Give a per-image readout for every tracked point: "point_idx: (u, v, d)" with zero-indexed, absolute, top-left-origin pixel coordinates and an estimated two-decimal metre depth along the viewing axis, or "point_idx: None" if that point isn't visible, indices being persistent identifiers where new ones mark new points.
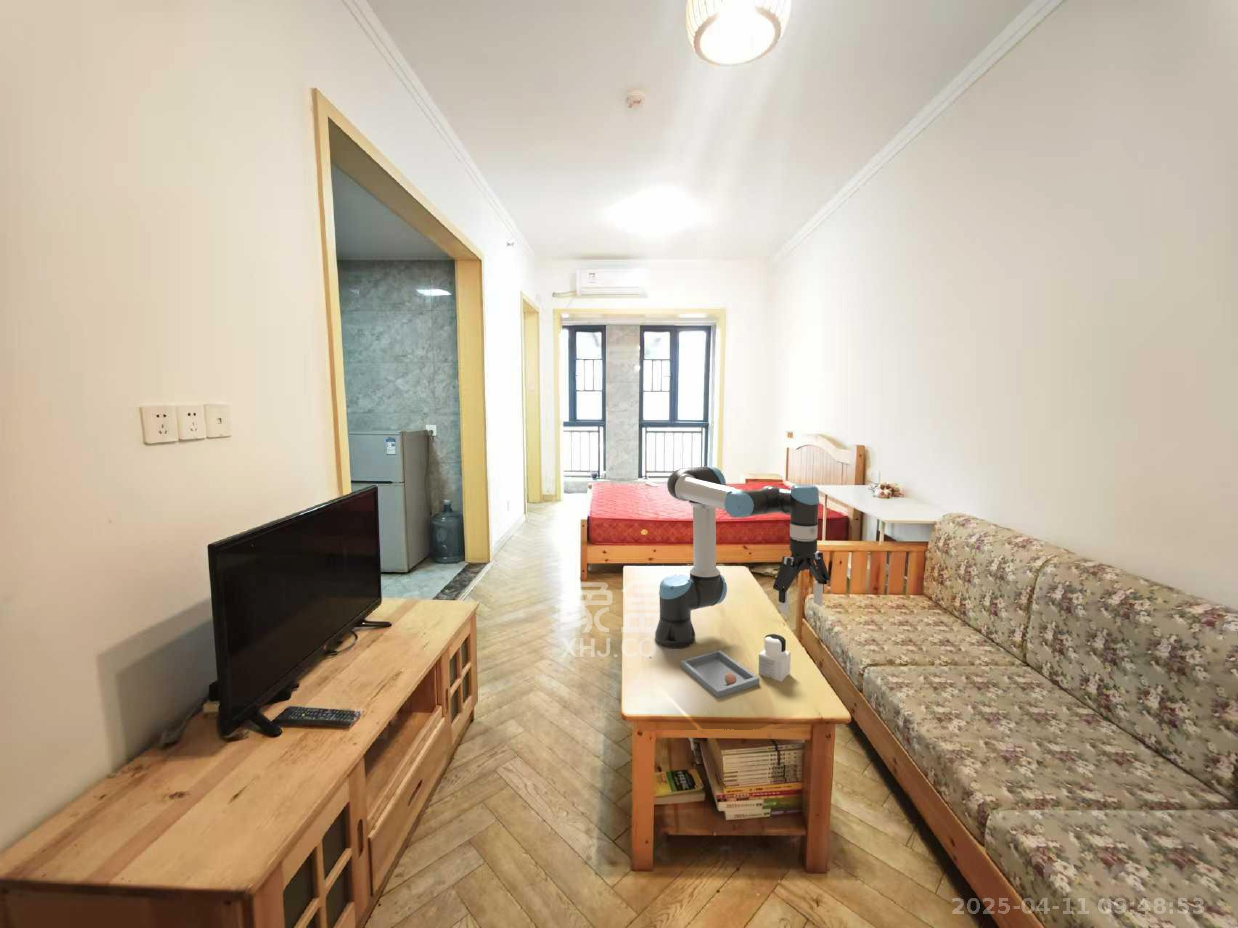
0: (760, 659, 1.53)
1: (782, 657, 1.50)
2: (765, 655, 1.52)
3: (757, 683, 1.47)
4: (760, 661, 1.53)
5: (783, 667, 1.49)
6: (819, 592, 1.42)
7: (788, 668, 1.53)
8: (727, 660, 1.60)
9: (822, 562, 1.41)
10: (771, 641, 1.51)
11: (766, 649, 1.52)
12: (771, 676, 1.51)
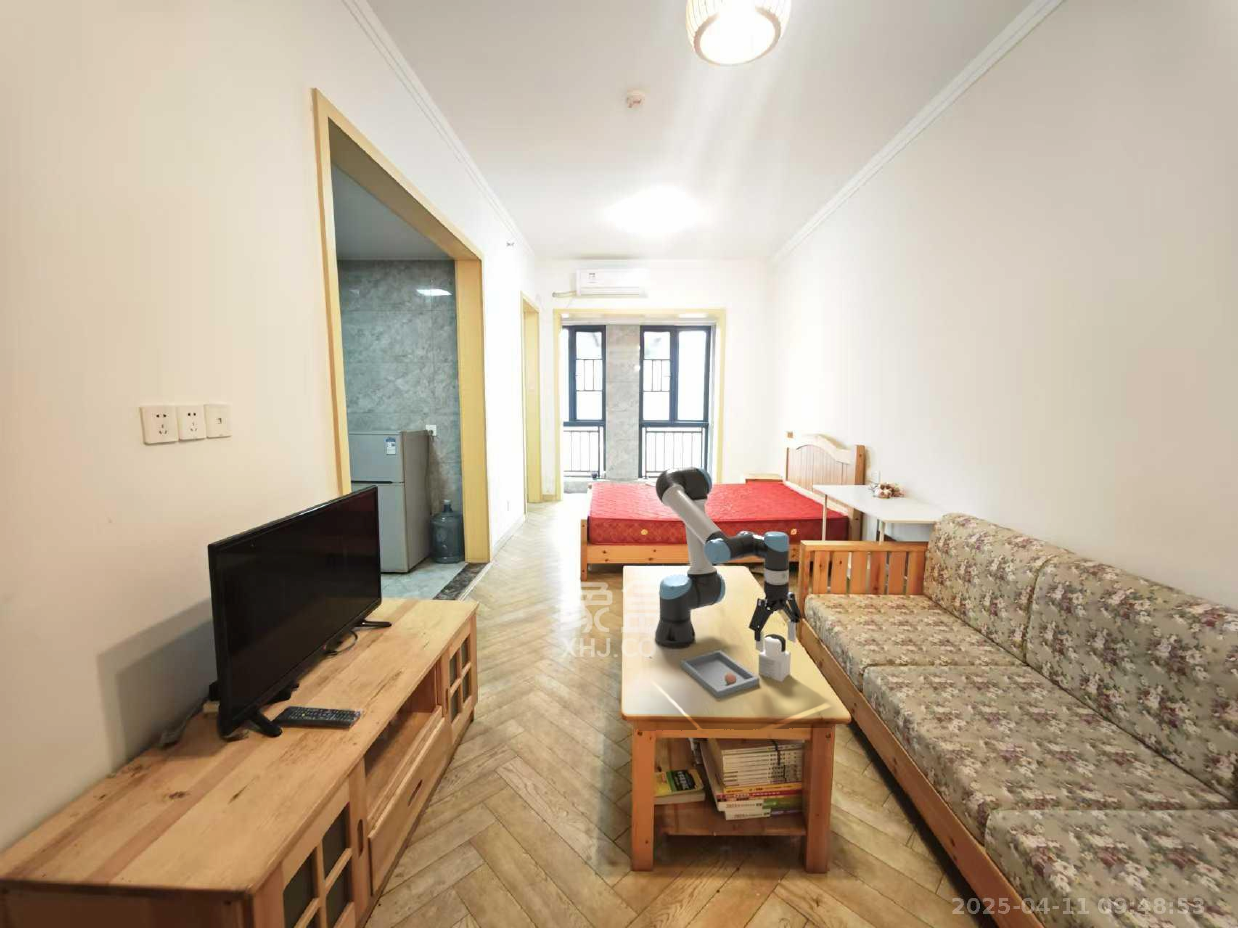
0: (760, 659, 1.53)
1: (782, 657, 1.50)
2: (765, 655, 1.52)
3: (757, 683, 1.47)
4: (760, 661, 1.53)
5: (783, 667, 1.49)
6: (792, 630, 1.55)
7: (788, 668, 1.53)
8: (727, 660, 1.60)
9: (794, 602, 1.54)
10: (771, 641, 1.51)
11: (766, 649, 1.52)
12: (771, 676, 1.51)
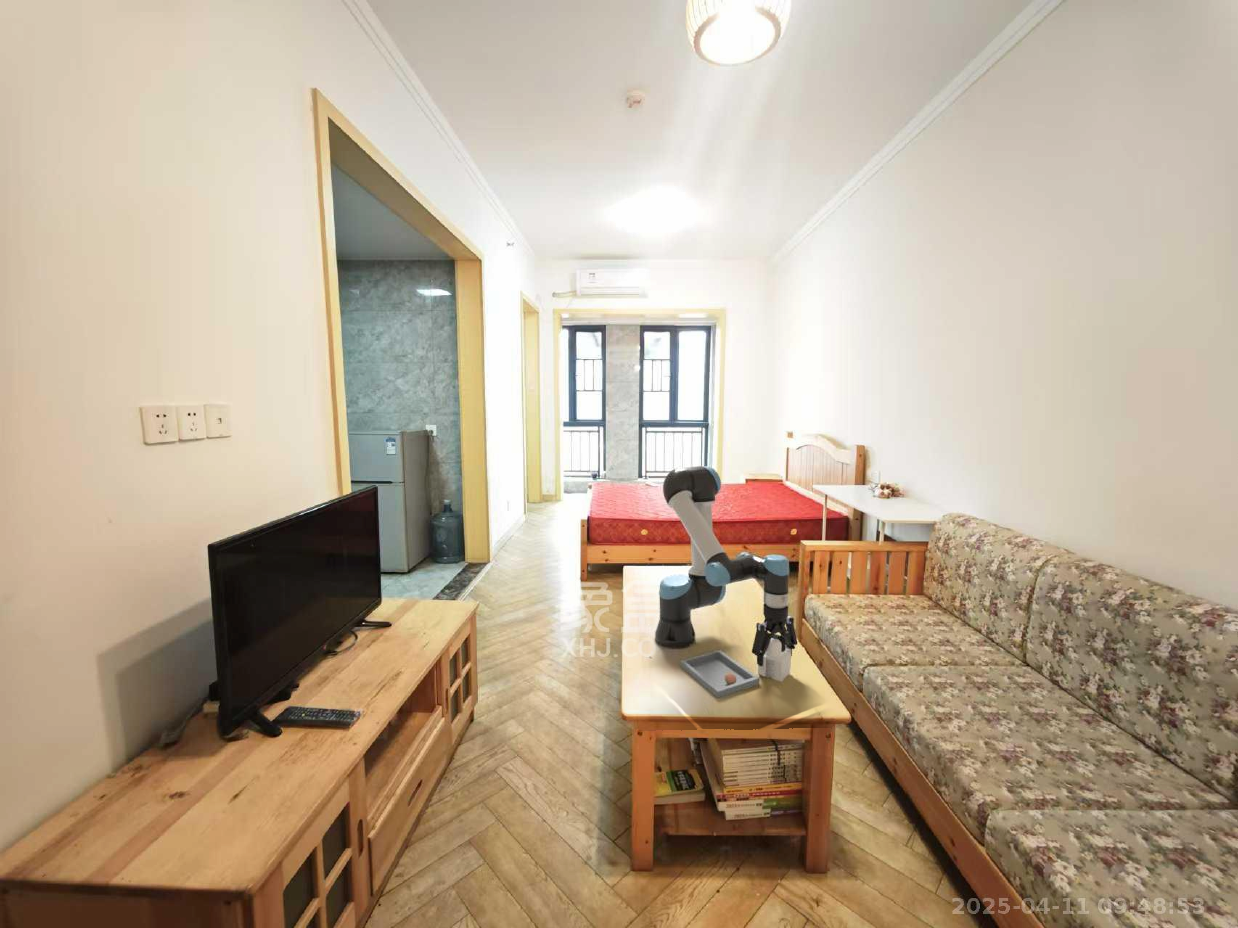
0: None
1: (782, 657, 1.50)
2: (765, 655, 1.52)
3: (757, 683, 1.47)
4: None
5: (783, 667, 1.49)
6: None
7: (788, 668, 1.53)
8: (727, 660, 1.60)
9: (792, 627, 1.54)
10: (770, 641, 1.51)
11: None
12: (771, 676, 1.51)
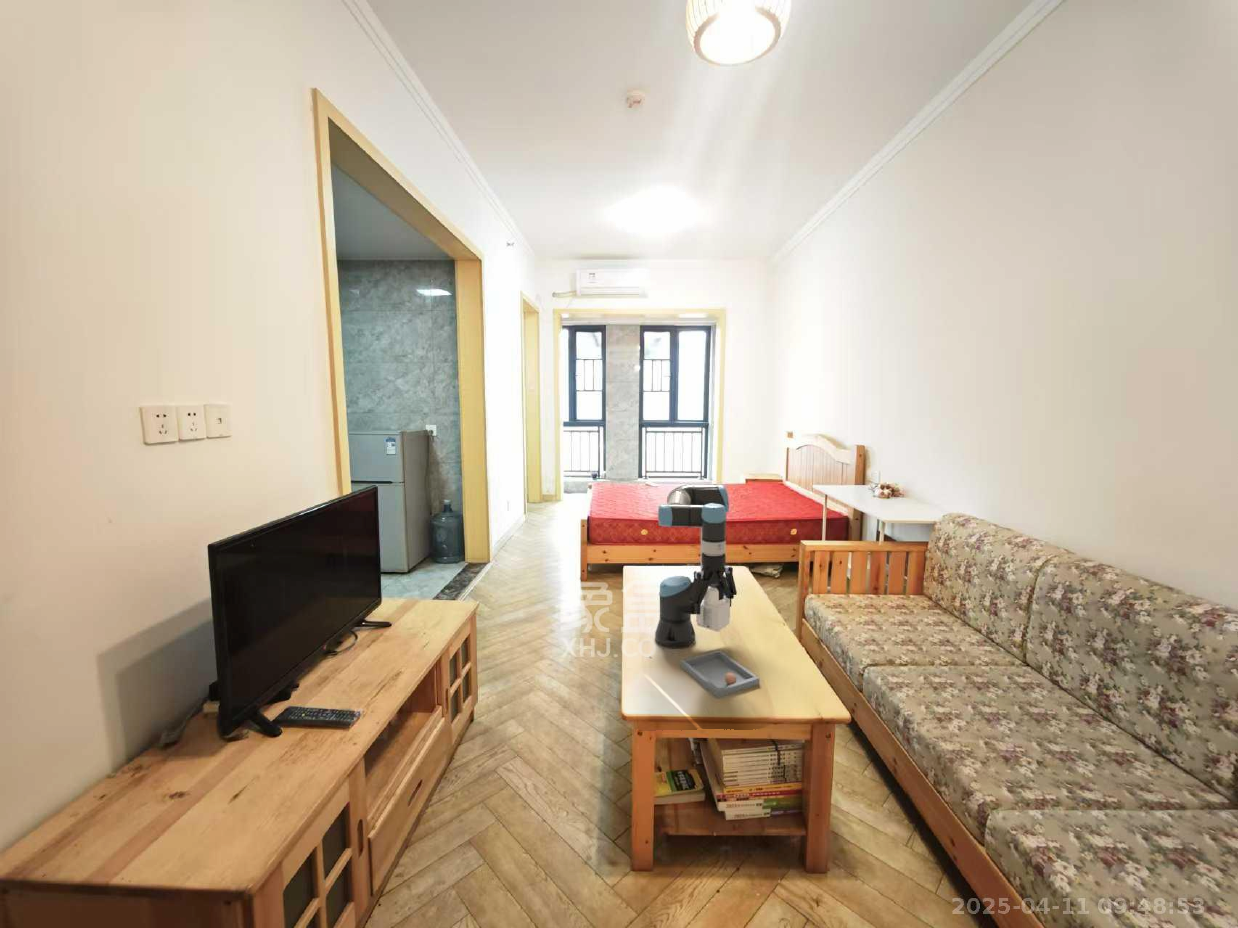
0: None
1: (719, 605, 1.50)
2: (703, 604, 1.51)
3: (757, 683, 1.47)
4: None
5: (720, 615, 1.49)
6: None
7: (727, 617, 1.53)
8: (727, 660, 1.60)
9: (731, 576, 1.54)
10: (708, 589, 1.51)
11: (704, 598, 1.52)
12: (708, 625, 1.51)
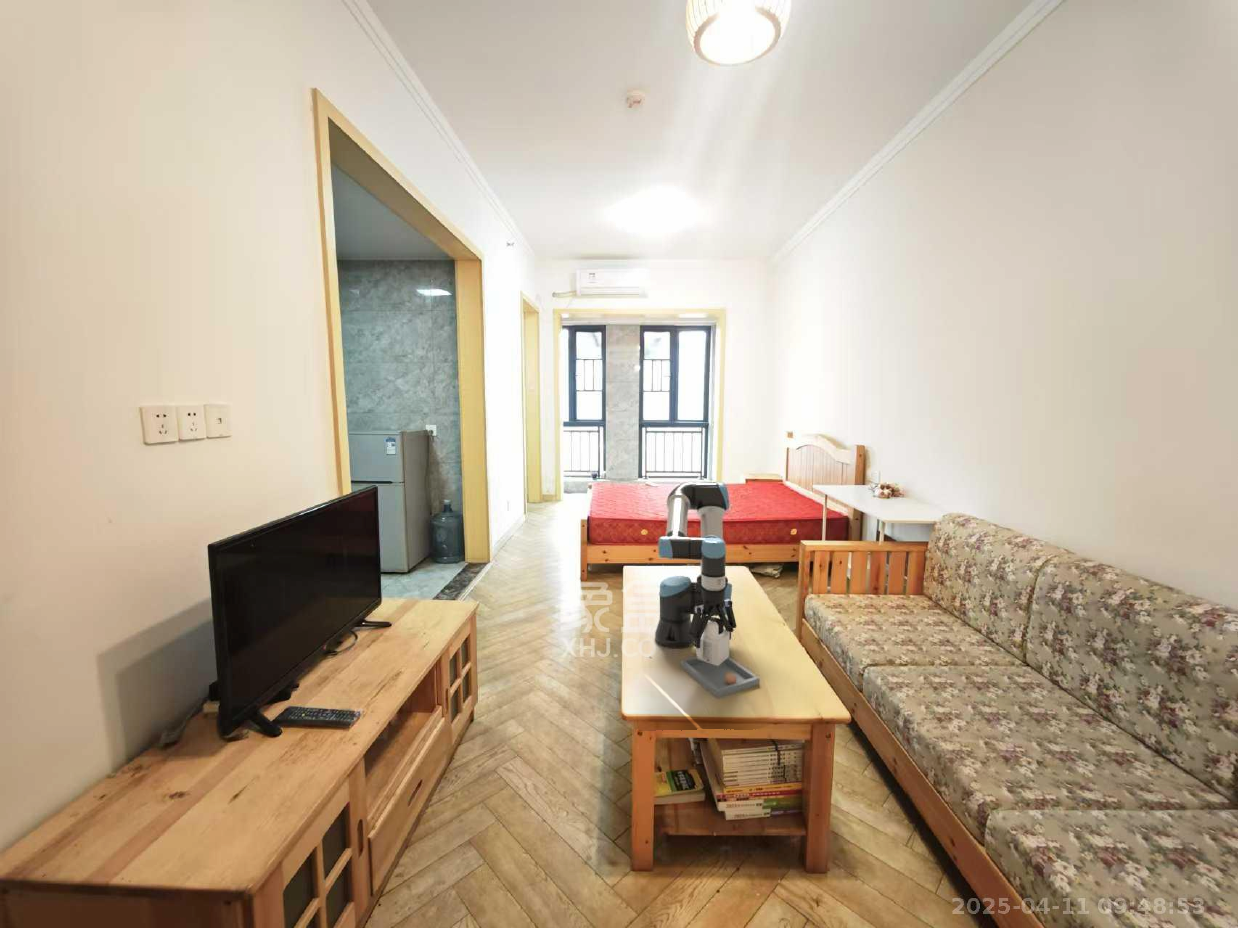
0: None
1: (719, 640, 1.51)
2: (703, 638, 1.53)
3: (757, 683, 1.47)
4: None
5: (720, 649, 1.50)
6: None
7: (726, 650, 1.54)
8: (727, 660, 1.60)
9: (731, 610, 1.55)
10: (708, 623, 1.52)
11: (704, 632, 1.53)
12: (708, 658, 1.52)
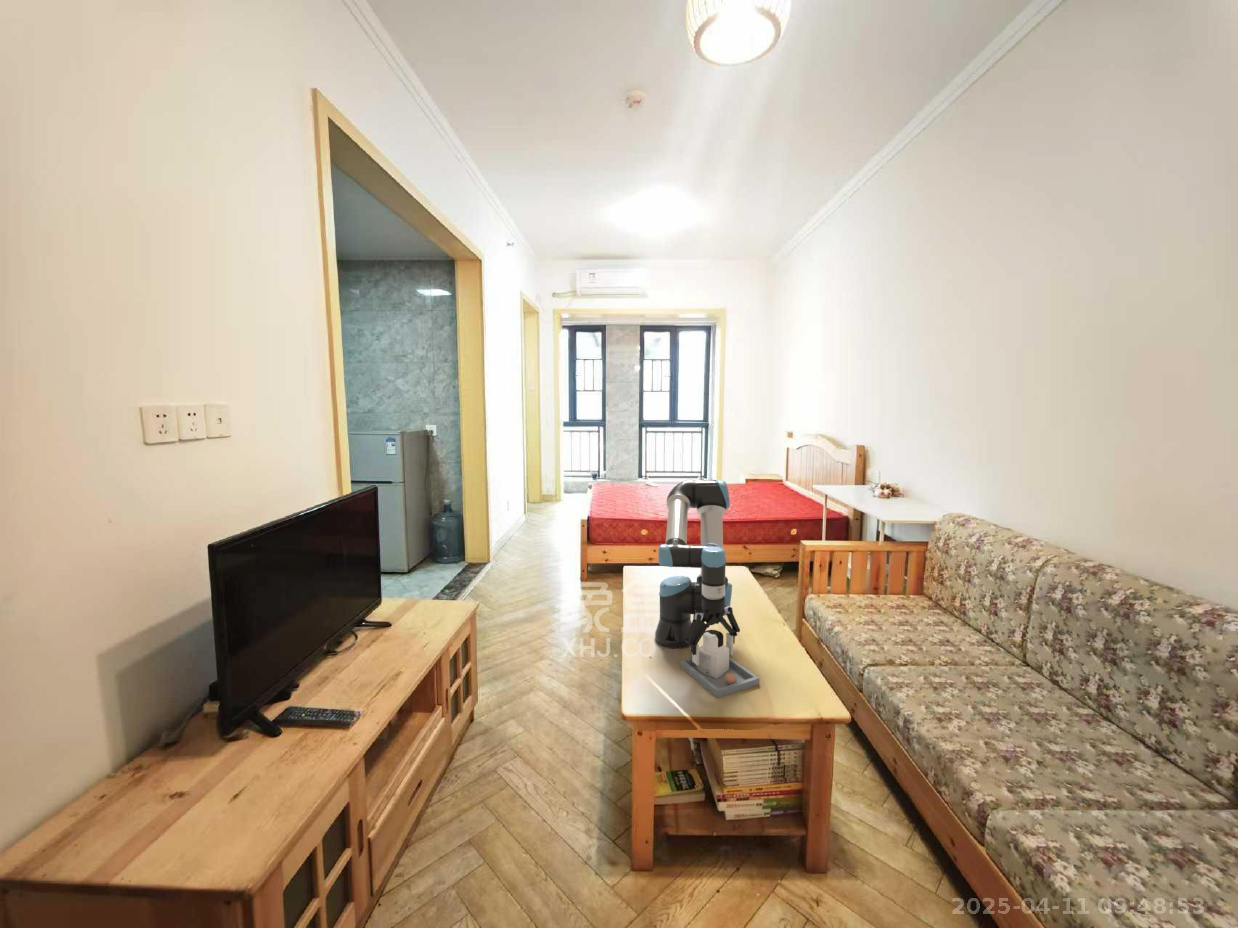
0: None
1: (719, 653, 1.52)
2: (703, 650, 1.53)
3: (757, 683, 1.47)
4: None
5: (719, 662, 1.51)
6: (730, 643, 1.57)
7: (726, 663, 1.54)
8: None
9: (732, 616, 1.56)
10: (707, 636, 1.53)
11: (704, 644, 1.54)
12: (708, 671, 1.52)
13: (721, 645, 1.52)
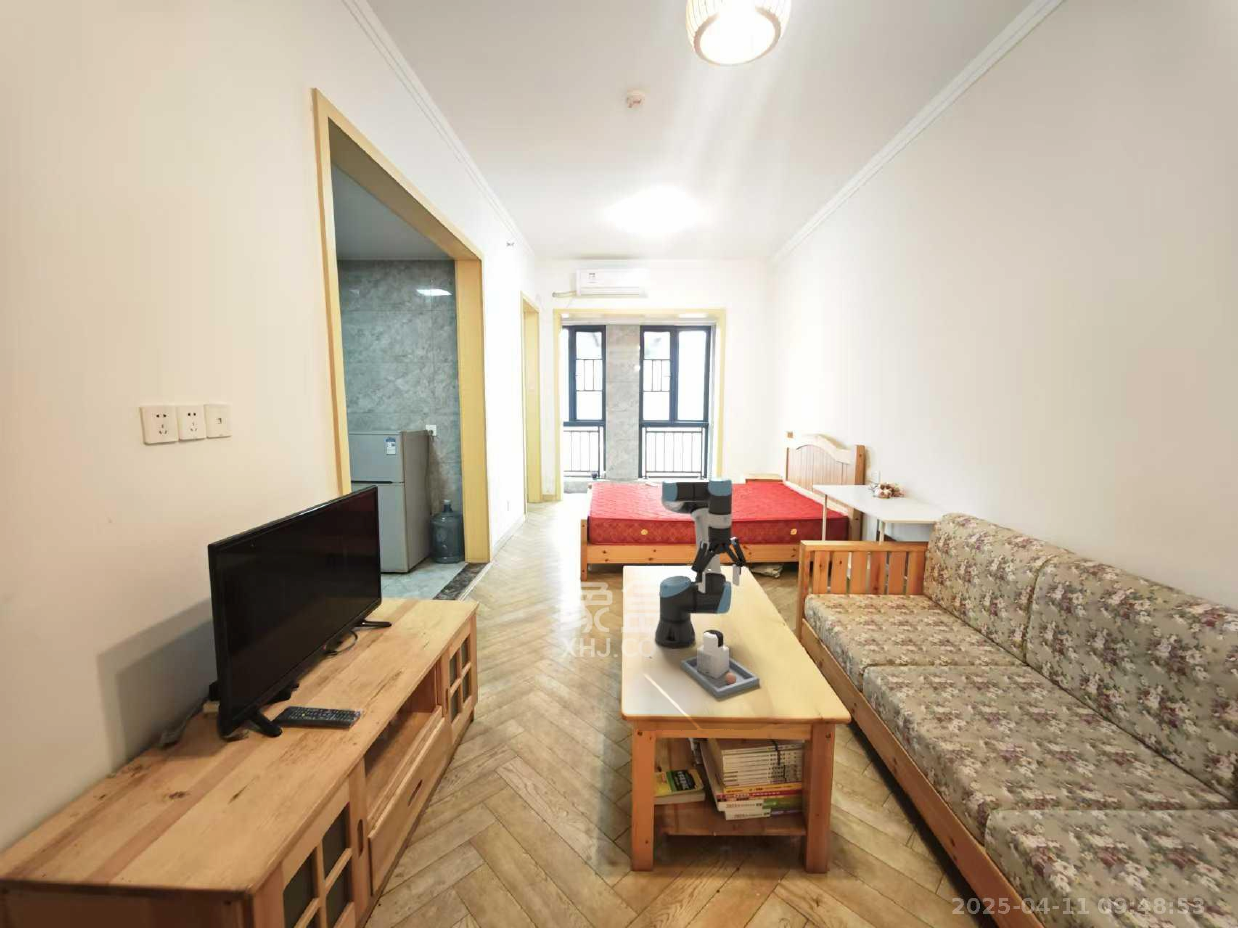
0: (698, 654, 1.54)
1: (719, 653, 1.52)
2: (703, 650, 1.53)
3: (757, 683, 1.47)
4: (698, 656, 1.55)
5: (719, 662, 1.51)
6: (736, 574, 1.59)
7: (726, 663, 1.54)
8: None
9: (738, 547, 1.58)
10: (707, 636, 1.52)
11: (704, 644, 1.54)
12: (708, 671, 1.52)
13: (721, 645, 1.52)
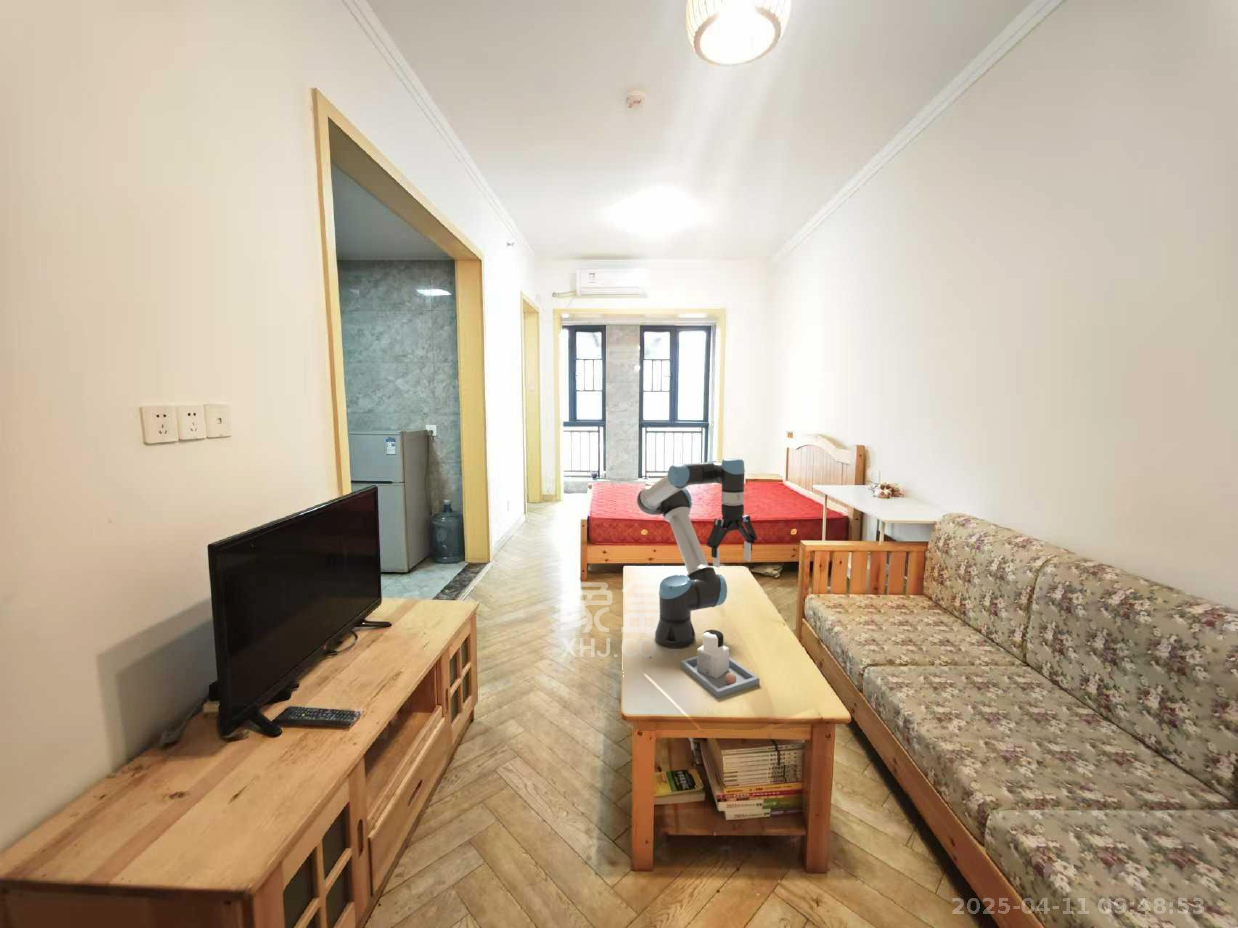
0: (698, 654, 1.55)
1: (719, 653, 1.52)
2: (703, 650, 1.53)
3: (757, 683, 1.47)
4: (698, 656, 1.55)
5: (719, 662, 1.51)
6: (748, 550, 1.67)
7: (726, 663, 1.54)
8: None
9: (749, 524, 1.66)
10: (707, 636, 1.52)
11: (704, 644, 1.54)
12: (708, 671, 1.52)
13: (721, 645, 1.52)
